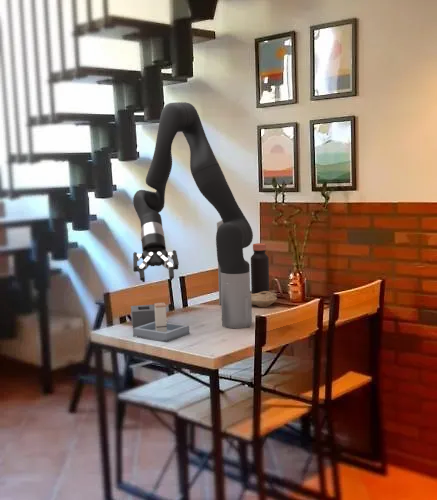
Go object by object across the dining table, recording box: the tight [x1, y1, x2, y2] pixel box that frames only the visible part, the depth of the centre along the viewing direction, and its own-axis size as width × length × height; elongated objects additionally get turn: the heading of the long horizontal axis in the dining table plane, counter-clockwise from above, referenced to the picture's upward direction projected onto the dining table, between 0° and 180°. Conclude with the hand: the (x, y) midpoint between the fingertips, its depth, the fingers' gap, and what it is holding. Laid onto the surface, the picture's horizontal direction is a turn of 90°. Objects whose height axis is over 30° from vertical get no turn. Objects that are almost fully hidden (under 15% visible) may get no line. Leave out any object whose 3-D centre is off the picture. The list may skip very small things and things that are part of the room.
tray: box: [132, 321, 190, 343], centre depth 211 cm, size 13×11×2 cm
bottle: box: [250, 242, 270, 294], centre depth 263 cm, size 7×7×20 cm
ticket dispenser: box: [130, 304, 155, 329], centre depth 224 cm, size 8×9×6 cm
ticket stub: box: [154, 302, 167, 332], centre depth 210 cm, size 3×4×9 cm
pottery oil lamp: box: [250, 290, 278, 308], centre depth 247 cm, size 9×12×7 cm
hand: (157, 279), depth 216 cm, fingers open, 8 cm apart
